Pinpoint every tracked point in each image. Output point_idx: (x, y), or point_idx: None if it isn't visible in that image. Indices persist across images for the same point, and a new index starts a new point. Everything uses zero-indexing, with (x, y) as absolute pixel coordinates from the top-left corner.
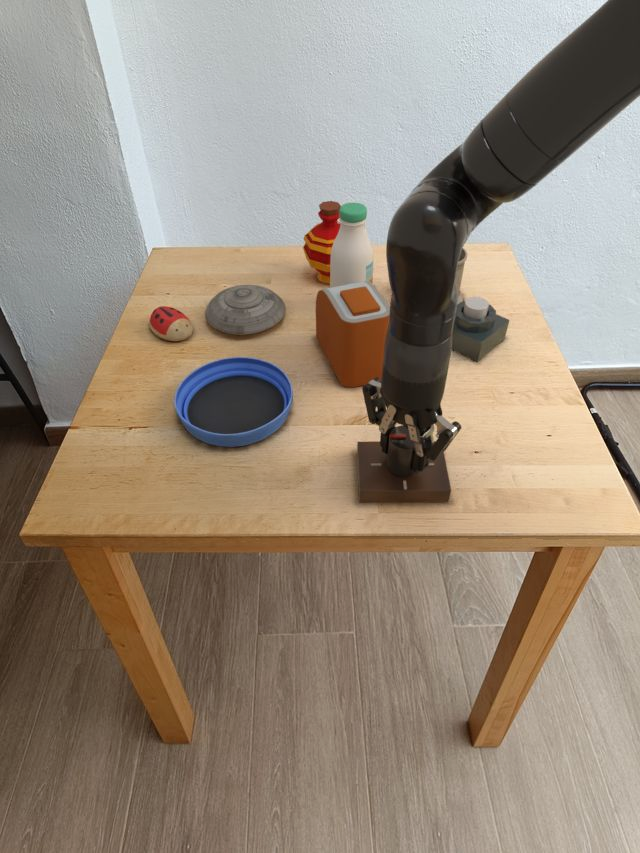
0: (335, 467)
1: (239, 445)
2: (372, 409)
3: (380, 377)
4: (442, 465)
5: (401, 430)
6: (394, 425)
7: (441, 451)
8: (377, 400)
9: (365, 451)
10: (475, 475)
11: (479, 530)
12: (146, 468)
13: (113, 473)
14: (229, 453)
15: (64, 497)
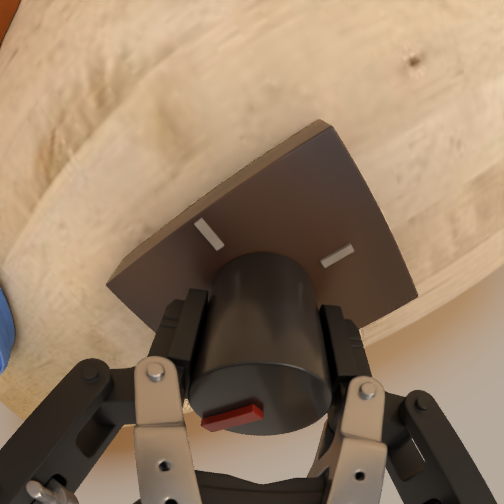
0: (124, 313)
1: (13, 343)
2: (91, 462)
3: (8, 6)
4: (377, 234)
5: (222, 394)
6: (179, 387)
7: (424, 466)
8: (69, 471)
9: (145, 303)
10: (440, 153)
11: (463, 291)
12: (14, 387)
13: (12, 396)
14: (20, 350)
15: (26, 418)
